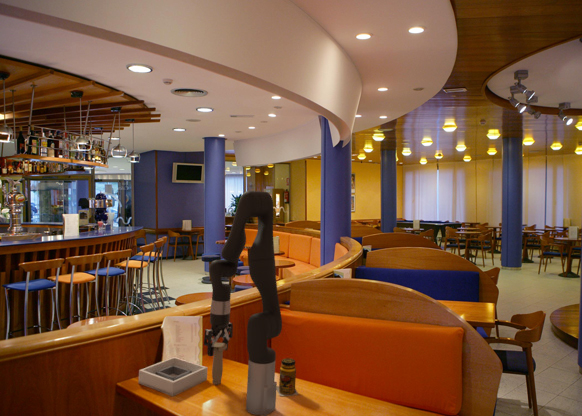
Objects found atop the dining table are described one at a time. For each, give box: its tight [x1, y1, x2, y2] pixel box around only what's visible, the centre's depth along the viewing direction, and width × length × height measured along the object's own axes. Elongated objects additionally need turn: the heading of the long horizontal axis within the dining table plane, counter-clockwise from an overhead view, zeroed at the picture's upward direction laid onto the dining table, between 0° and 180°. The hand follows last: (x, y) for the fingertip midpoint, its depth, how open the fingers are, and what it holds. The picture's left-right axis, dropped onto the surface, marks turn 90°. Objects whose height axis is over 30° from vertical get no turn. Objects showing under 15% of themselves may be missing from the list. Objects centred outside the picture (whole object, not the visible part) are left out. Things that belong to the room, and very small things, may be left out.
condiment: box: [276, 357, 300, 397], centre depth 163 cm, size 7×8×12 cm
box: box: [137, 356, 209, 397], centre depth 166 cm, size 18×18×5 cm
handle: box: [211, 342, 228, 385], centre depth 166 cm, size 5×6×15 cm
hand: (217, 352), depth 166 cm, fingers open, 8 cm apart
